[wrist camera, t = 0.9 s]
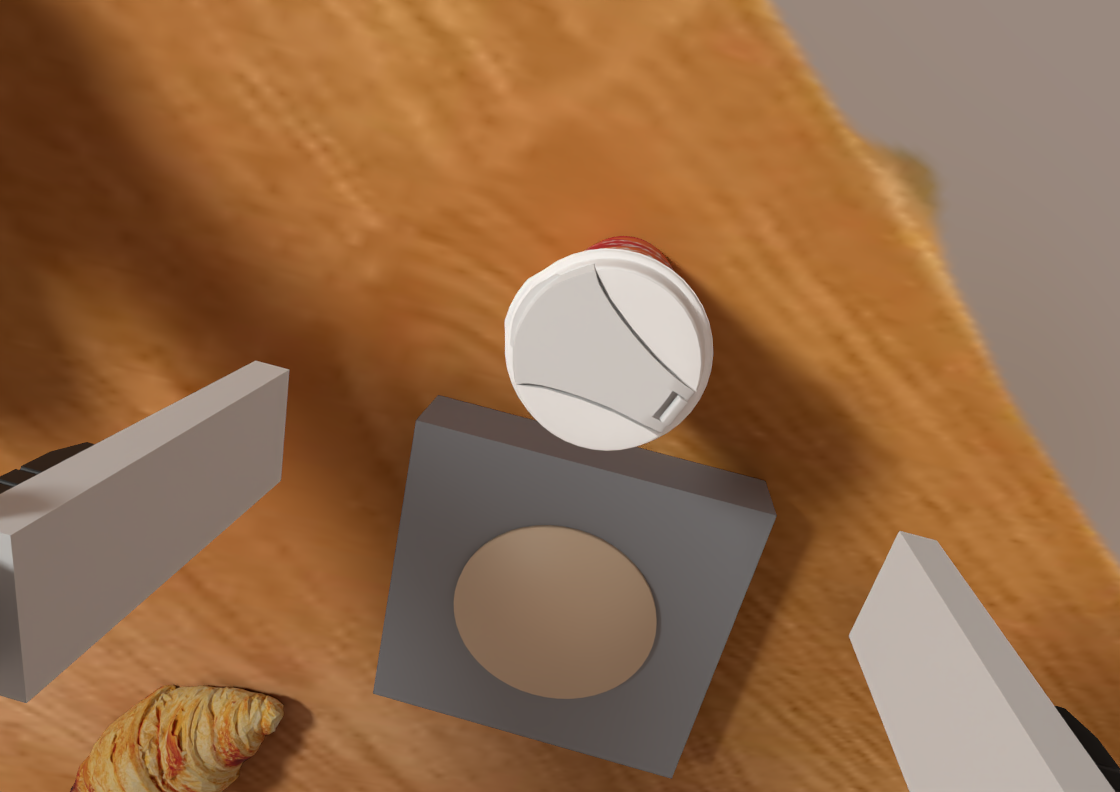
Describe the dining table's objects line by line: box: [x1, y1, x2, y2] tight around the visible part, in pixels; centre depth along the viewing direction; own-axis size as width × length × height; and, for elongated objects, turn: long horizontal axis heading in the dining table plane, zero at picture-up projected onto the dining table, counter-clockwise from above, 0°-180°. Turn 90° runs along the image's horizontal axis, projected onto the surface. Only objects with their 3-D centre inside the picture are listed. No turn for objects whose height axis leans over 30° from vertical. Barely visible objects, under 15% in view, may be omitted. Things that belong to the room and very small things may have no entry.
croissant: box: [70, 685, 284, 792], centre depth 51 cm, size 21×10×8 cm, turn 121°
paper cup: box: [505, 236, 713, 451], centre depth 30 cm, size 8×8×14 cm
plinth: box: [373, 395, 777, 779], centre depth 41 cm, size 20×20×4 cm
